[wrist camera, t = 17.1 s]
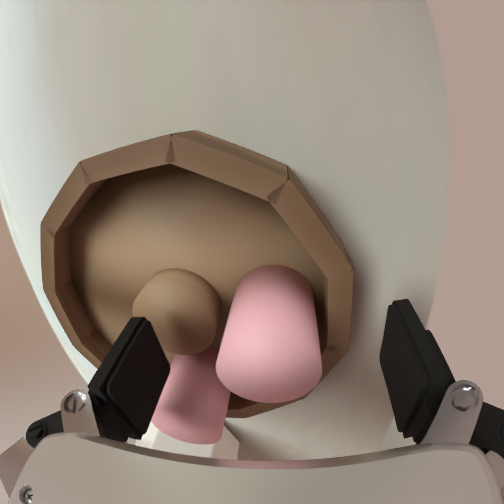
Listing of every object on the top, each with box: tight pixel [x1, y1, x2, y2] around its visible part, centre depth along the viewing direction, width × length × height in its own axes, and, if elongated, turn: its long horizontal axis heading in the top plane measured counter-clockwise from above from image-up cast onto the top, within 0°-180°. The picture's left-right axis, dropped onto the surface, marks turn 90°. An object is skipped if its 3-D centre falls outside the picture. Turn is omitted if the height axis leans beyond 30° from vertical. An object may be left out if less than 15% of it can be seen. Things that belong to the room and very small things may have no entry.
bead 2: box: [216, 265, 322, 403], centre depth 11 cm, size 4×4×4 cm
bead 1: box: [151, 345, 231, 445], centre depth 14 cm, size 4×4×4 cm
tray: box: [41, 130, 353, 418], centre depth 14 cm, size 16×16×3 cm
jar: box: [135, 422, 239, 460], centre depth 17 cm, size 9×8×12 cm
